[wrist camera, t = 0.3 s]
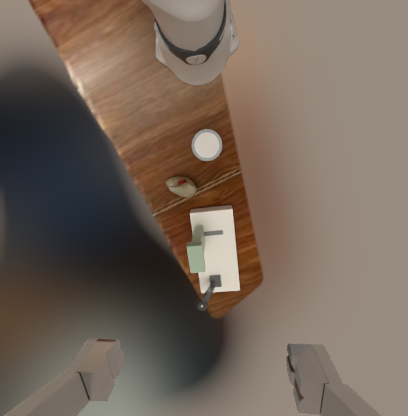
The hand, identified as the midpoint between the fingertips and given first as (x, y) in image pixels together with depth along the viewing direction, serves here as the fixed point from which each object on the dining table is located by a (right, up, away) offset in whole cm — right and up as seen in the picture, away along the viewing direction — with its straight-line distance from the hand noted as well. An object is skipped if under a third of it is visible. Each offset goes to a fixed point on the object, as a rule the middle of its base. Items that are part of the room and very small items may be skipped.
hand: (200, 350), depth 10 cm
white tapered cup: (+1, +23, +43) cm, 49 cm away
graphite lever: (+3, -14, +47) cm, 49 cm away
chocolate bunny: (-6, +13, +46) cm, 48 cm away
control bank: (+4, -4, +50) cm, 51 cm away
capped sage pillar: (-1, 0, +45) cm, 45 cm away
